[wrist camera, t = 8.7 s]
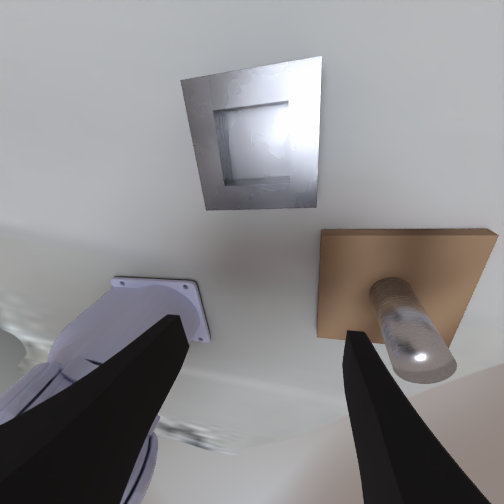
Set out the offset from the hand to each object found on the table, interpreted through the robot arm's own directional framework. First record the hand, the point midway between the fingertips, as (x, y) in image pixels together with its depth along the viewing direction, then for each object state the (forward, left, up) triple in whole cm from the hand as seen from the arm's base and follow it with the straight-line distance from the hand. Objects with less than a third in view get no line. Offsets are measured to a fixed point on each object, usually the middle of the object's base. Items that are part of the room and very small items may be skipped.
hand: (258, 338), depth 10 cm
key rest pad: (+8, -4, -9) cm, 13 cm away
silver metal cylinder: (+8, -4, -8) cm, 12 cm away
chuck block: (-1, +7, -9) cm, 12 cm away
